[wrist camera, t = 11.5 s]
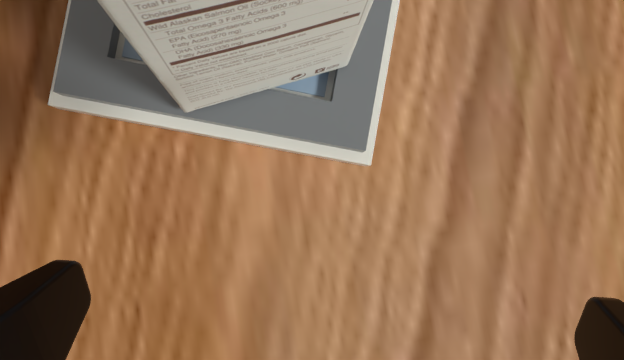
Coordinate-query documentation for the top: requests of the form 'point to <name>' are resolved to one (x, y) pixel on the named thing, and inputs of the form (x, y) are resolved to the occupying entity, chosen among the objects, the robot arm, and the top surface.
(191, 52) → the supplement box
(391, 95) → the top surface
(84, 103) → the grey square tray
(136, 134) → the top surface
